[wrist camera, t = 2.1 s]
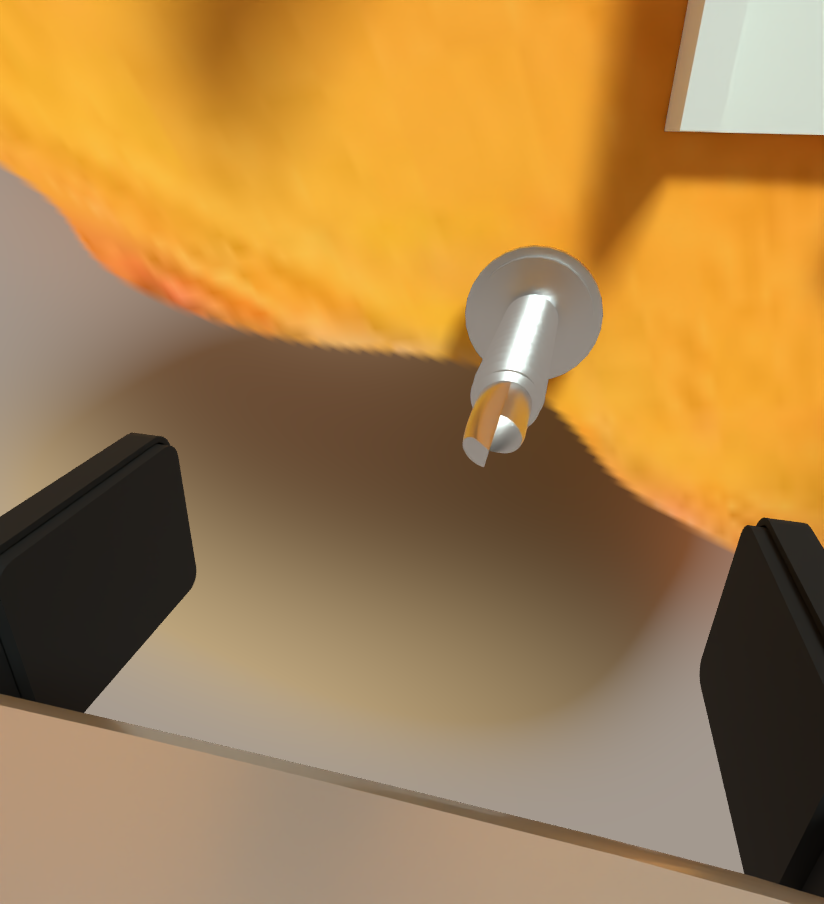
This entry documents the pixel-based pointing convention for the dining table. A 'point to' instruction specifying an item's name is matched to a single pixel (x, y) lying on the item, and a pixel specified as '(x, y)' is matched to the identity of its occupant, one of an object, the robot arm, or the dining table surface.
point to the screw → (525, 340)
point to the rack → (750, 68)
